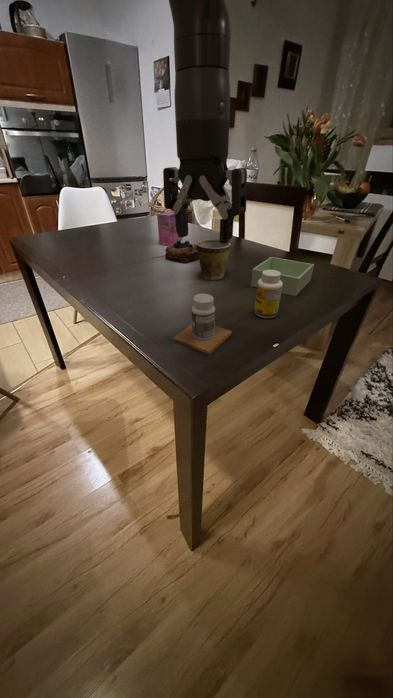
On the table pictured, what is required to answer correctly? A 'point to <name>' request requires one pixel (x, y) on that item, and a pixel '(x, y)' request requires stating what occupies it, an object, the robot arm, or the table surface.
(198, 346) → the cork mat
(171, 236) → the box
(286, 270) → the bin
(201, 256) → the ceramic cup
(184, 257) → the pastry
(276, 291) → the supplement bottle
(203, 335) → the pill bottle
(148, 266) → the table surface
